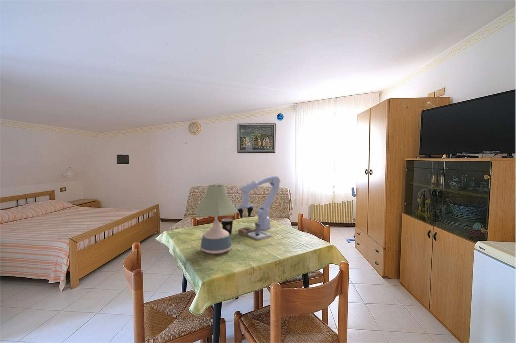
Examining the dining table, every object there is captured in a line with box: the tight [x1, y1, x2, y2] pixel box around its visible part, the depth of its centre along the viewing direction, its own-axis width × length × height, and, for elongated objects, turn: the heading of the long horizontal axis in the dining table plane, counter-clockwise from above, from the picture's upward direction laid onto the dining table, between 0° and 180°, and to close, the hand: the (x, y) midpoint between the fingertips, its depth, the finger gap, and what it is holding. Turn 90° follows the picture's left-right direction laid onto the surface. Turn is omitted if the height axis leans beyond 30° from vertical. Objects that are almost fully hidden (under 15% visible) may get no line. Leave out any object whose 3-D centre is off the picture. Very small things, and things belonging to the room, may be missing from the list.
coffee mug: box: [219, 218, 234, 234], centre depth 188 cm, size 12×9×10 cm
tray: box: [247, 230, 272, 241], centre depth 180 cm, size 12×12×2 cm
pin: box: [254, 221, 261, 236], centre depth 180 cm, size 4×4×9 cm
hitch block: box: [237, 226, 255, 237], centre depth 187 cm, size 10×8×3 cm
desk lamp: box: [194, 182, 239, 255], centre depth 152 cm, size 26×28×42 cm
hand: (245, 217), depth 194 cm, fingers open, 7 cm apart
